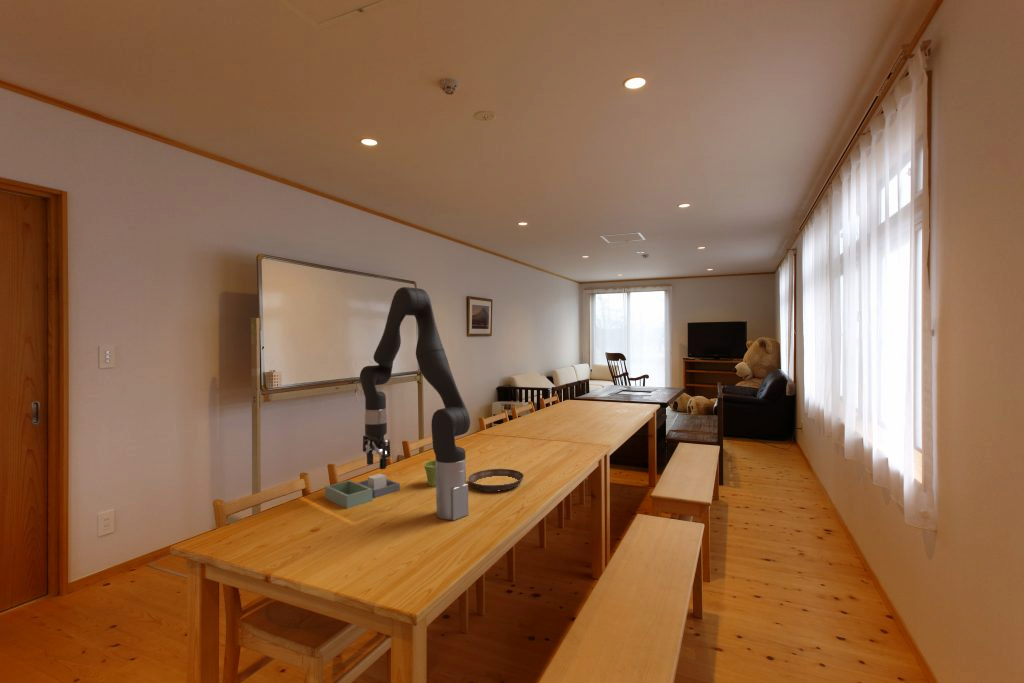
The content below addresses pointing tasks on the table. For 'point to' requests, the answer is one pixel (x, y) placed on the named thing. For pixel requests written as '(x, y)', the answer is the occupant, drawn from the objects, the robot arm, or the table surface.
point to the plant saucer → (495, 472)
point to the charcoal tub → (383, 488)
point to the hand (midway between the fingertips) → (376, 466)
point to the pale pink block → (377, 481)
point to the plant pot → (431, 472)
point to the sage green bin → (348, 494)
